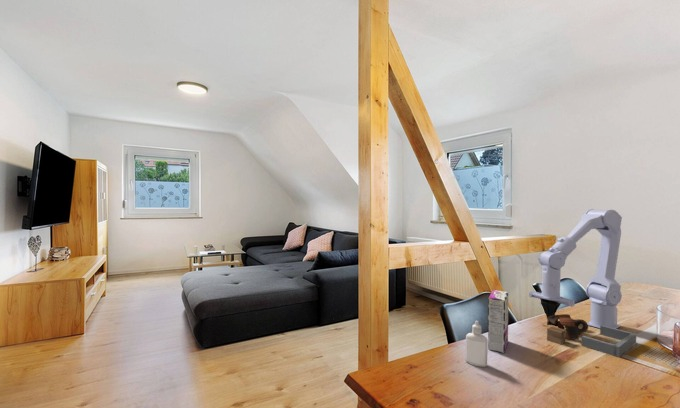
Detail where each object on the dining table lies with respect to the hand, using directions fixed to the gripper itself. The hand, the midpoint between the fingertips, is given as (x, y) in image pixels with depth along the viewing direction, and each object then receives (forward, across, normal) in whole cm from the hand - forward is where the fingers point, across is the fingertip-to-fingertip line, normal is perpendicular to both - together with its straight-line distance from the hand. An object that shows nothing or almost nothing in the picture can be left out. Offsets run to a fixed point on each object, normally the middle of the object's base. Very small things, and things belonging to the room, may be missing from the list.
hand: (550, 320), depth 121 cm
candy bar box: (+3, -2, -32) cm, 32 cm away
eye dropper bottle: (+3, +1, -49) cm, 49 cm away
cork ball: (+2, +7, +7) cm, 10 cm away
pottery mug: (+3, +7, -3) cm, 8 cm away
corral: (+2, +17, 0) cm, 17 cm away
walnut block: (+2, +7, -12) cm, 14 cm away
